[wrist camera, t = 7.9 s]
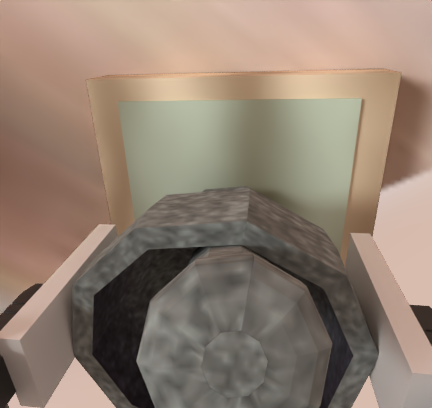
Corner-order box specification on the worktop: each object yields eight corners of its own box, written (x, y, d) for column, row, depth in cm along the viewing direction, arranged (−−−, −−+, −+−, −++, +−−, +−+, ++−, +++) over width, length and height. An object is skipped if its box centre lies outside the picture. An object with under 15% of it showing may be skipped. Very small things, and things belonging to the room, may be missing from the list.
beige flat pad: (139, 287, 24) (125, 314, 22) (107, 75, 19) (83, 80, 16) (346, 299, 23) (356, 330, 20) (383, 68, 17) (403, 72, 14)
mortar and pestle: (298, 336, 19) (340, 715, 8) (134, 298, 20) (-29, 612, 9) (374, 139, 14) (710, 438, 3) (153, 94, 15) (-163, 235, 4)
